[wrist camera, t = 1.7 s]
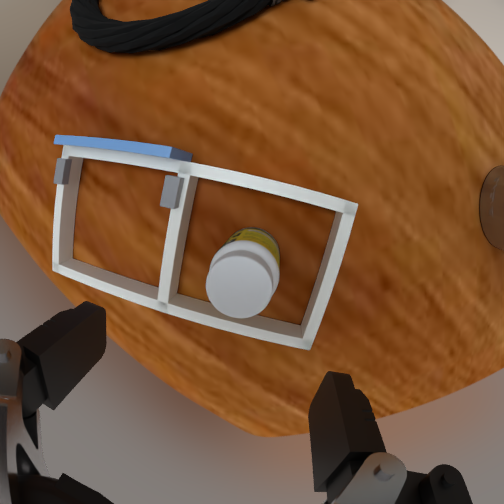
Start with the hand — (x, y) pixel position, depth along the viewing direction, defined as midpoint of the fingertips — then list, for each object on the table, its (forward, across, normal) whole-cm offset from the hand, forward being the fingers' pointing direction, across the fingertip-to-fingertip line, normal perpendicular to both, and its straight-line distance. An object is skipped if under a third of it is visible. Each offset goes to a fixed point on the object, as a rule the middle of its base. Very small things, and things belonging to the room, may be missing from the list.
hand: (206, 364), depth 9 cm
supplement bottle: (+16, 0, 0) cm, 16 cm away
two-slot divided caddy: (+16, +6, 0) cm, 17 cm away
